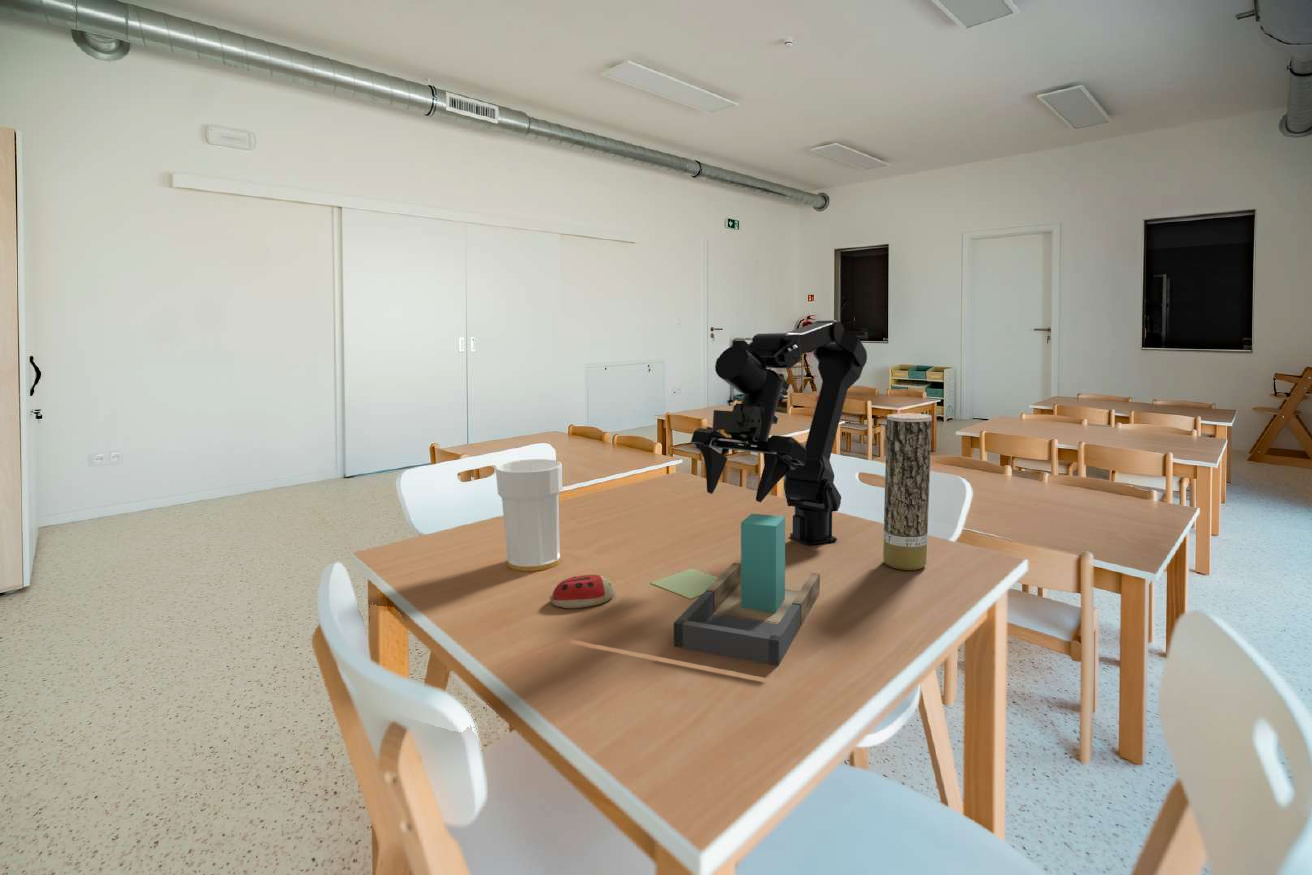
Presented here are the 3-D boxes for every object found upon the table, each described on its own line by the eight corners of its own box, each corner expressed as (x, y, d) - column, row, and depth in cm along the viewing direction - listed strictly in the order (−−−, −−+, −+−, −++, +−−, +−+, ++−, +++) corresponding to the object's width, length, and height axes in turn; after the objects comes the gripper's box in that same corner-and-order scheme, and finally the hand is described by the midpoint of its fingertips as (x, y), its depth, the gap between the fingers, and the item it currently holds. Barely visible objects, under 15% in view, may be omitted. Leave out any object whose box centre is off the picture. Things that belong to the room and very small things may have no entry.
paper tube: (927, 560, 115) (933, 413, 111) (924, 574, 109) (930, 419, 105) (885, 555, 118) (889, 412, 114) (880, 568, 112) (884, 418, 108)
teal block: (751, 594, 101) (751, 513, 99) (784, 599, 99) (785, 516, 97) (741, 607, 97) (740, 522, 95) (775, 612, 95) (776, 526, 93)
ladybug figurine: (621, 603, 101) (620, 580, 100) (557, 616, 97) (556, 592, 96) (605, 588, 107) (605, 566, 106) (544, 599, 103) (543, 577, 102)
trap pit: (705, 614, 95) (705, 591, 95) (800, 630, 90) (800, 605, 89) (674, 648, 86) (673, 622, 85) (778, 668, 80) (778, 640, 79)
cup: (580, 560, 119) (575, 463, 117) (527, 578, 111) (521, 475, 108) (540, 547, 127) (535, 456, 124) (488, 564, 119) (481, 466, 116)
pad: (691, 571, 113) (691, 568, 113) (731, 585, 106) (731, 582, 106) (650, 585, 107) (650, 582, 107) (691, 601, 100) (691, 598, 100)
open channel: (733, 584, 107) (733, 562, 106) (819, 596, 101) (819, 573, 100) (706, 613, 96) (706, 590, 95) (800, 629, 90) (801, 604, 90)
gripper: (685, 383, 110) (657, 474, 107) (786, 387, 98) (759, 490, 94) (721, 409, 118) (696, 494, 115) (819, 415, 106) (794, 511, 102)
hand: (733, 497), depth 106 cm, fingers open, 9 cm apart
